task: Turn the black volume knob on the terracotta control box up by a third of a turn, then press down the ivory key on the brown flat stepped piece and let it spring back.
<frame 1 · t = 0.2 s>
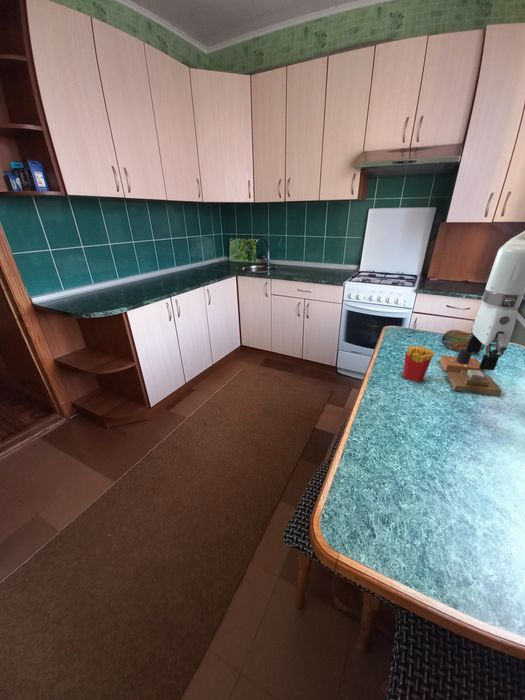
hand: (478, 360, 78), 18 cm above the table, tool pointing down, fingers open, 9 cm apart
brown flat stepped piece: (471, 385, 99), on the table
volume knob: (464, 355, 107), point 6 cm above the table, hinge at 0.0°
tin: (459, 350, 123), on the table
french fries: (413, 378, 104), on the table
volume box: (459, 368, 109), on the table
key: (475, 374, 97), point 4 cm above the table, slide at 0.1 cm
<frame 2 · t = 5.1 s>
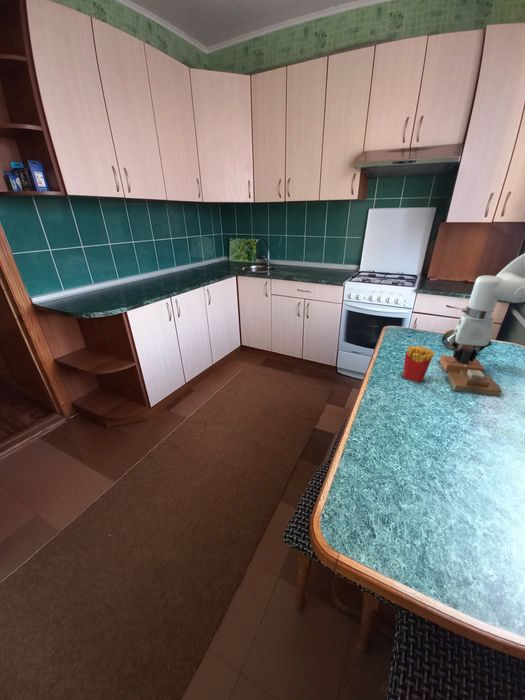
hand: (463, 359, 108), 4 cm above the table, tool pointing down, fingers closed on volume knob, 4 cm apart
volume knob: (464, 355, 107), point 6 cm above the table, hinge at 0.0°, touching gripper
everything else where it was.
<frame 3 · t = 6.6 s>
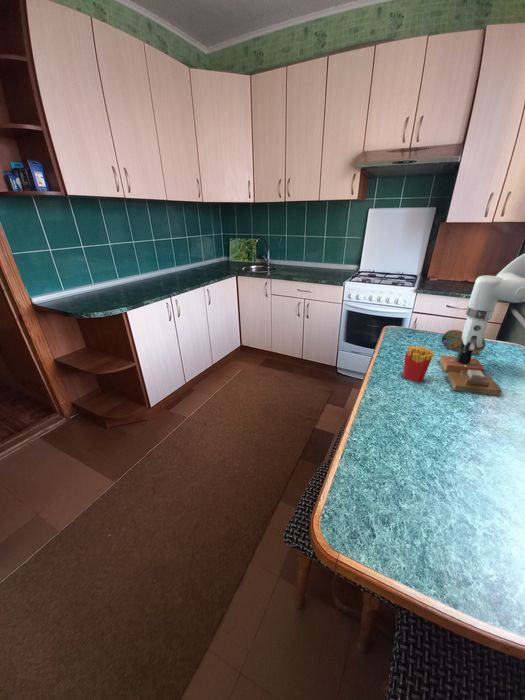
hand: (463, 359, 108), 4 cm above the table, tool pointing down, fingers closed on volume knob, 4 cm apart
volume knob: (464, 355, 107), point 6 cm above the table, hinge at 78.9°, touching gripper
everything else where it was.
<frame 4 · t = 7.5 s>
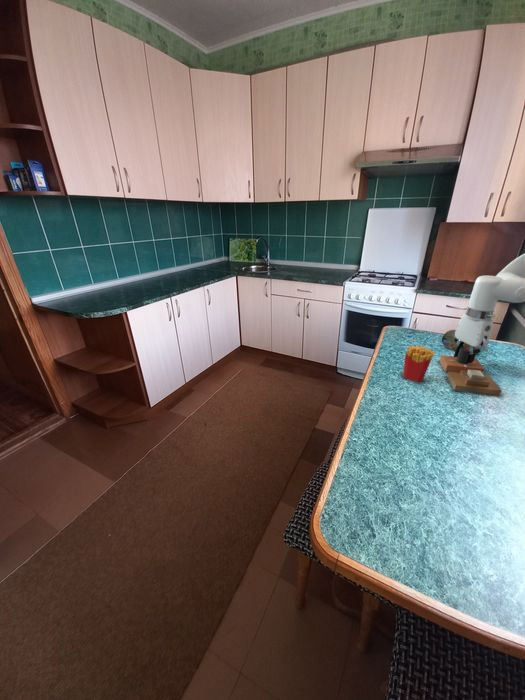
hand: (463, 359, 108), 4 cm above the table, tool pointing down, fingers closed on volume knob, 4 cm apart
volume knob: (464, 355, 107), point 6 cm above the table, hinge at 119.7°, touching gripper
everything else where it was.
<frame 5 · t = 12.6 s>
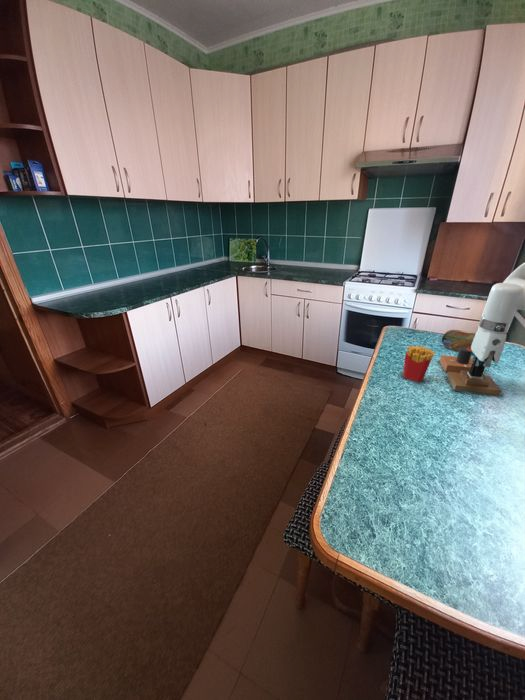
hand: (474, 375, 97), 4 cm above the table, tool pointing down, fingers closed
volume knob: (464, 355, 107), point 6 cm above the table, hinge at 118.1°
key: (474, 377, 98), point 3 cm above the table, slide at -0.9 cm, touching gripper
everything else where it was.
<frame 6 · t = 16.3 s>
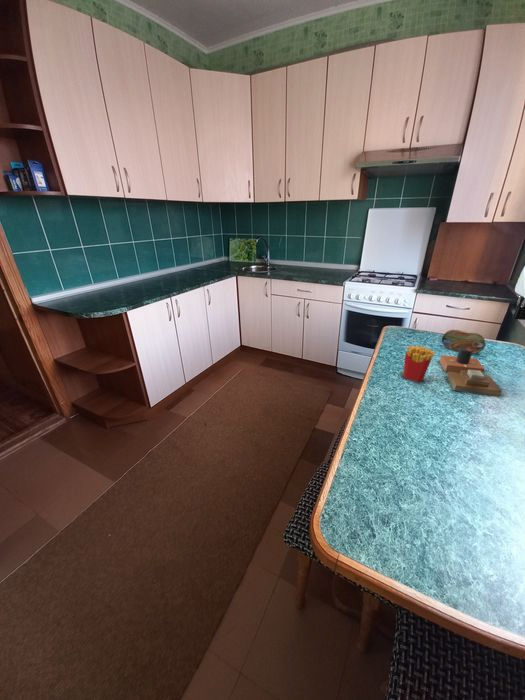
hand: (519, 318, 92), 23 cm above the table, tool pointing down, fingers closed
key: (475, 374, 97), point 4 cm above the table, slide at 0.1 cm
everything else where it was.
at the end: volume knob at +118° (first picture: +0°); key pushed in 1.1 cm at the most during the clip, back to where it started at the end; key slide at 0.1 cm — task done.
